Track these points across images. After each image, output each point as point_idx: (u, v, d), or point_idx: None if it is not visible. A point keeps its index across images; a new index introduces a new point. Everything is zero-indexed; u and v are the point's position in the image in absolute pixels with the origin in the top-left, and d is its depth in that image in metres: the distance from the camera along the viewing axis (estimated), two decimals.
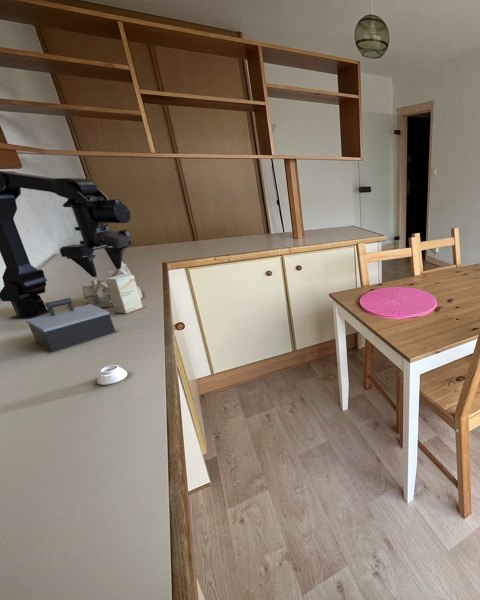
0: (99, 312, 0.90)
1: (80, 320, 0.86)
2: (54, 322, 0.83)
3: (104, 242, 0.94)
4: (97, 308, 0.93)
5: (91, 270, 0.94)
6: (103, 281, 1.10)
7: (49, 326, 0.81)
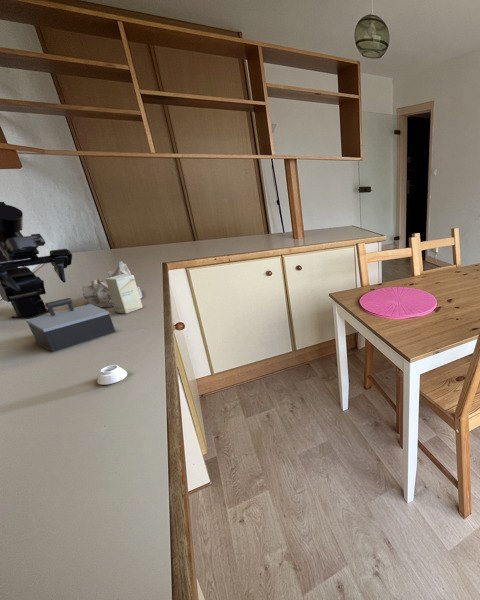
0: (99, 312, 0.90)
1: (80, 320, 0.86)
2: (54, 322, 0.83)
3: (10, 250, 0.86)
4: (97, 308, 0.93)
5: (11, 284, 0.85)
6: (103, 281, 1.10)
7: (49, 326, 0.81)
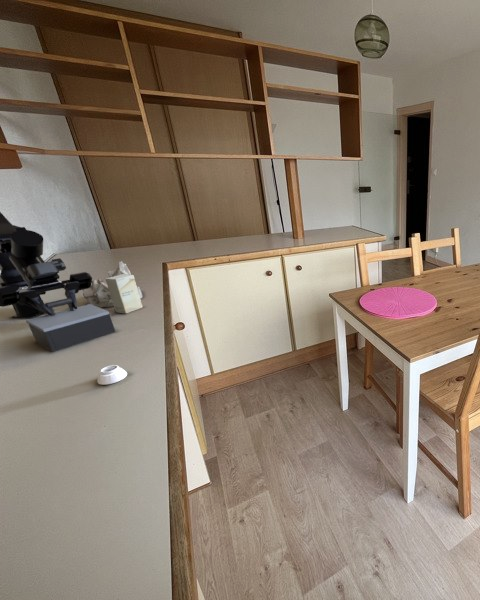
0: (99, 312, 0.90)
1: (80, 320, 0.86)
2: (54, 322, 0.83)
3: (31, 276, 0.84)
4: (97, 308, 0.93)
5: (43, 309, 0.86)
6: (103, 281, 1.10)
7: (49, 326, 0.81)
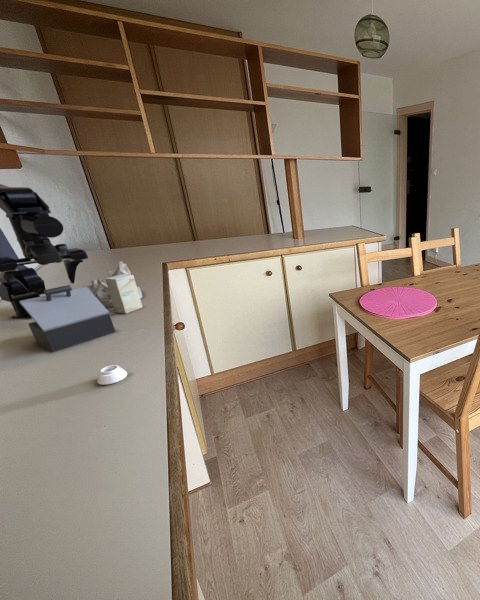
0: (99, 310, 0.90)
1: (80, 320, 0.86)
2: (53, 317, 0.83)
3: (32, 257, 0.86)
4: (96, 300, 0.91)
5: None
6: (103, 281, 1.10)
7: (49, 325, 0.81)
